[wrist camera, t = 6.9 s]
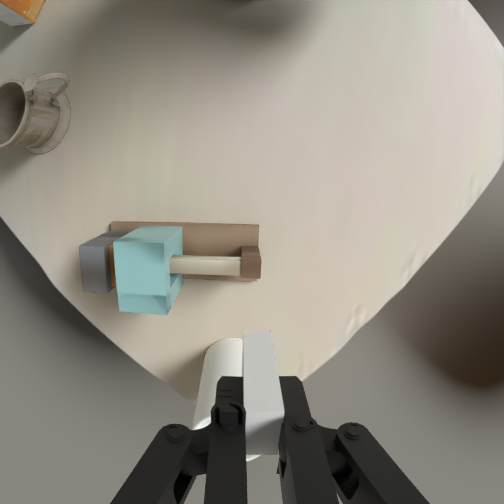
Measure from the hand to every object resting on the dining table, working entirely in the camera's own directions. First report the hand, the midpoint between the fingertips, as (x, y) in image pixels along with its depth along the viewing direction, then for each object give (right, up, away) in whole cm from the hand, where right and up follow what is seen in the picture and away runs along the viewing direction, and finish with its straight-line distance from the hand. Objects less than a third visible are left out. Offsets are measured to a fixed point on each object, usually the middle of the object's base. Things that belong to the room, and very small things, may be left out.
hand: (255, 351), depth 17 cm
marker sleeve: (-11, +5, +20) cm, 23 cm away
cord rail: (-9, +6, +23) cm, 25 cm away
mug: (-28, +25, +18) cm, 41 cm away
